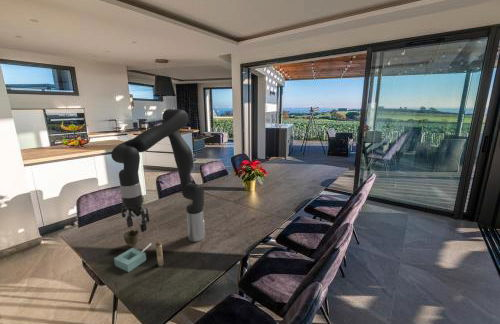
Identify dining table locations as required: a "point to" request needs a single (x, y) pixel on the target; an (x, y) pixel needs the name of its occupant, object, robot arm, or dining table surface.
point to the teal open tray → (130, 259)
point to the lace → (146, 247)
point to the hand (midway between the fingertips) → (137, 228)
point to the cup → (131, 238)
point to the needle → (159, 253)
